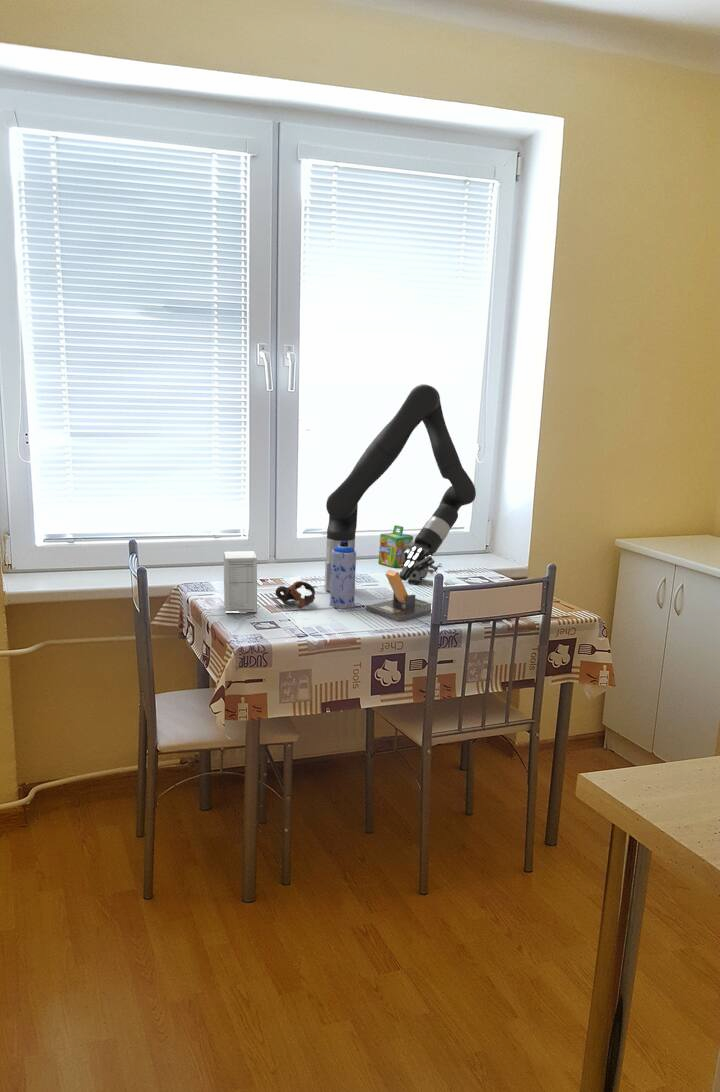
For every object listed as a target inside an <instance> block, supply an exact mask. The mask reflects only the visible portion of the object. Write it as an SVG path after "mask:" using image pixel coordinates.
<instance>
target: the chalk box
mask: <svg viewBox="0 0 720 1092" xmlns="http://www.w3.org/2000/svg"><path fill="white" fill-rule="evenodd" d="M398 529H399V532H398V531H397V530H398ZM410 540H414V536H413V535H411V534H407V533H404V526H401V525H396V524H395V525H394V526H393V530H392V532H387V533H386V532H385V533H380V539H379V550H378V551H379V552H378V564H380V565H384V566H386V567H390V568H393V569H397V568H402V567H403V568H404V565H403V564H402V563H401V551H402V549H405V550H408V549H410V548H409V547H408V542H409V541H410Z"/></svg>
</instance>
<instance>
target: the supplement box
mask: <svg viewBox="0 0 720 1092" xmlns="http://www.w3.org/2000/svg"><path fill="white" fill-rule="evenodd" d="M223 596H224V597H223V598H224V599H223V600H224V603H223V606H225V607H224V612H225V611H239V612H257V613H258V558H257V555H256V552H255V551H254V550H253V551H252V550H249V551H248V550H245V551H244V550H243V551H242V550H241V551H237V550H235V551H224V552H223Z"/></svg>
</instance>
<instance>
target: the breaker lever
mask: <svg viewBox="0 0 720 1092" xmlns="http://www.w3.org/2000/svg"><path fill="white" fill-rule="evenodd" d="M399 574H400V572H398V571H396V570H393V569H388V571H386V572H385V574H384V575H385V577H386V578H387V581H388V583H389V585H390V587H391V589H392V592H393V595H394V594H395V596H396V598H397V601H398V602H399V603H402V604H405V605H406V596H408V595H409V594H408V592H407V590H406V587H405V585H404V582H403V580H401V578H400V576H399Z"/></svg>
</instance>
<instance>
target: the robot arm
mask: <svg viewBox="0 0 720 1092" xmlns="http://www.w3.org/2000/svg"><path fill="white" fill-rule="evenodd" d="M442 408H443V407H442V403H441V396H440V392H439V391H438V390H437V388H435V387H434V386H431V385H430V384H429V385H428V384H426V383H425V384H423V383H422V384H418V385H416V386H415V387H413V388H412V389H411V391H410V392H409V393H408V395H407V397H406V399H405V400H404V402H403V404H401V406H400V408H399V409H398V410H397V413H396V414H395V415H394V416H393V418H392V419H391V420H390V421H389V422H388V423H387V424H386V425H385V426H384V427H382V429H381V431H380V432H379V433H378V434H377V435H376V437H375V438H374V439H373V440H372V441H371V443H370V444H369V445H368V447H367V448H366V449H365V451H364V452H363V454H362V455H360V458H359V459H358V461H357V462H356V464H355V465H354V466H353V469H352V470H351V472H349V475H348V476H347V477H346V479H344V481H343V482H341V484H340V485H339V486H338V487H336V489H335V490H334V491H333V492H332V493H331V494H330V495H329V496H328V497H327V500H326V504H325V507H326V511H327V514H328V517H329V518H328V526H327V530H326V555H325V557H326V558H325V562H324V563H325V564H324V589H325V591H326V592H330V589H331V556H332V550H333V549H334V548H335V547H336V546H338V545H340V543H341V541H348V545H350V546H351V547H353V549H354V550H355V551H356V549H355V547H356V533H357V526H358V524H357V523H358V507H359V506H358V503H359V502H360V500H361V499H362V497H363V496H364V494H365V493H366V492H367V490H369V488H371V486H372V485H373V484H375V482H376V481H378V480H379V479H380V478H381V477H382V476H383V475H384V474H385V472H387V470H388V469H389V468H390V467H391V466H392V464H393V463H394V462H395V461H396V460H397V458H398V457H399V455H400V454H401V453H402V451H403V449H404V448H405V445H406V444H407V442H408V441H409V438H410V436H411V435H412V433H413V432H414V430H415V429H416V428H417V427H418V426H419V424H421V422H422V423H423V425H424V427H425V429H426V431H427V434H428V437H429V443H430V446H431V450H432V453H433V456H434V459H435V463H436V466H437V468H438V470H439V473H440V474H441V478H443V479H445V480H448V481H449V482H450V484H451V486H450V487H448V488H447V490H446V491H445V492H444V494H443V496H442V498H441V500H440V502H439V505H438V507H437V509H436V510H435V511H434V513H432V515H431V517H430V518H429V519H428V520H427V521H426V522H425V524H424V525H423V527H422V528H421V529H420V531H419V532H418V534H417V535H416V536H415V538H414V540H415V543H414V544H413V545H412V546H411V547H410V549H408V550H405V549H402V551H401V563H402V564H403V565H404V566H403V568H402V570H401V571H400V572H399V576H400V578H401V580H402V581H404V582H407V581H408V579H409V577H410V575H411V574H412V572H415V571H418V572H419V571H421V570H423V569H425V568H426V567H428V566H430V565H434V564H435V563H436V562H435V560H434V558H433V555H434V554H436V553H437V551H438V550H439V549H440V547H441V545H442V544H443V542H444V541H445V539H446V538H447V537H448V534H449V533H450V531H451V530H452V528H453V526H454V525H455V523H456V522H457V520H458V518H459V513H458V512H459V510H460V509H461V507H463V506H468V505H469V504H471V503H473V502H474V501H475V499H476V495H477V492H476V487H475V483H474V482H473V481H472V479H471V478H470V476H469V475H468V472H466V471H465V469H464V467H463V465H462V463H461V459H460V457H459V455H458V452H457V449H456V446H455V444H454V442H453V440H452V437H451V435H450V433H449V429H448V427H447V423H446V421H445V418H444V414H443V413H444V412H443V409H442ZM421 565H422V566H421Z"/></svg>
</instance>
